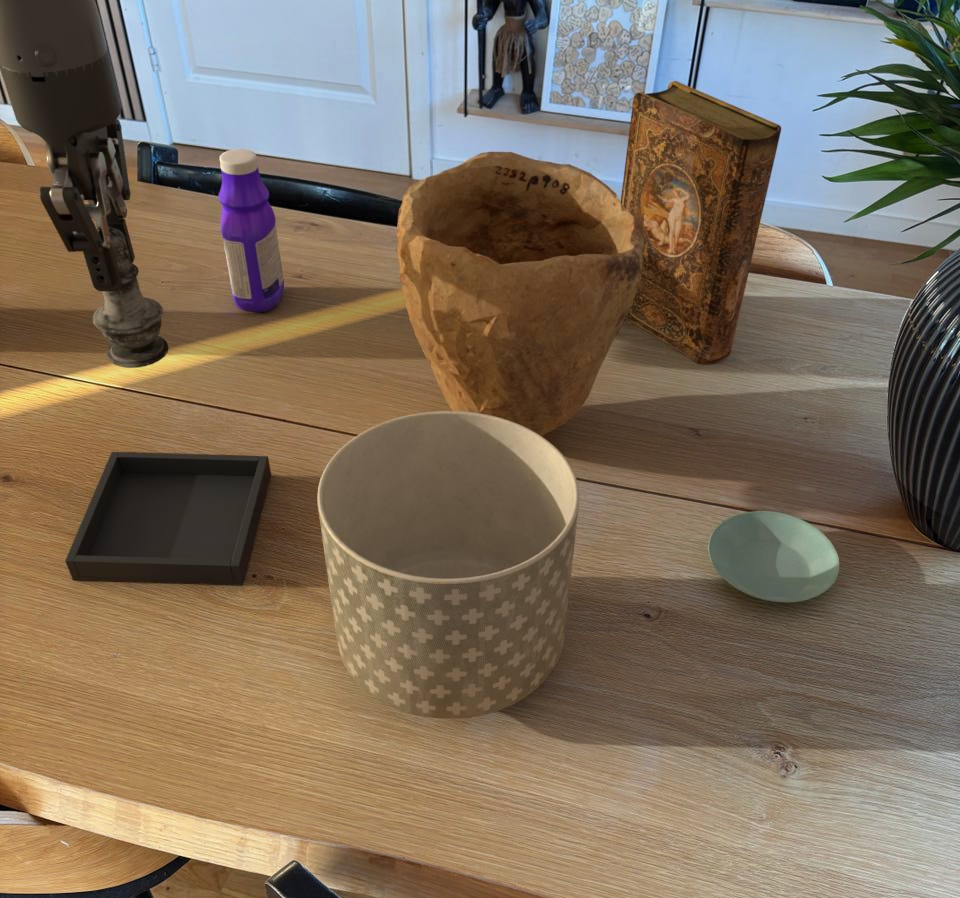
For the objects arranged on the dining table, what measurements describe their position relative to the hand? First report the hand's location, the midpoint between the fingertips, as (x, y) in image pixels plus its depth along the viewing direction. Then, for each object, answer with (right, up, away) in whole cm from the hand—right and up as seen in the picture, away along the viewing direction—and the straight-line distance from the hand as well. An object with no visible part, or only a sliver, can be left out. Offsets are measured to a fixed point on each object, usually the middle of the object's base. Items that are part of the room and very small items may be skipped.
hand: (115, 275), depth 84 cm
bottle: (+3, +11, +41) cm, 42 cm away
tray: (+1, -19, +13) cm, 23 cm away
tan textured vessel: (+34, -8, +24) cm, 42 cm away
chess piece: (0, -5, +6) cm, 7 cm away
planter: (+28, -31, +3) cm, 42 cm away
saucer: (+57, -24, +10) cm, 63 cm away
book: (+53, +7, +38) cm, 65 cm away
